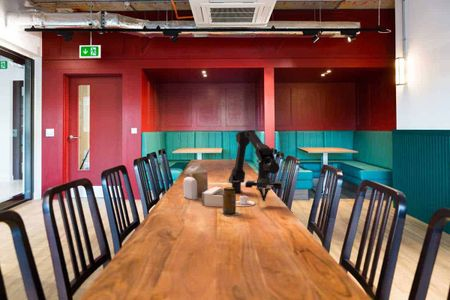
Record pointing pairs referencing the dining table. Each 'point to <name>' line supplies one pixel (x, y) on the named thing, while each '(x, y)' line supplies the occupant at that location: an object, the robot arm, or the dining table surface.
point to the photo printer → (190, 188)
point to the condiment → (229, 202)
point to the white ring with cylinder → (244, 201)
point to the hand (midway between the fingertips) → (263, 201)
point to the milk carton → (198, 177)
